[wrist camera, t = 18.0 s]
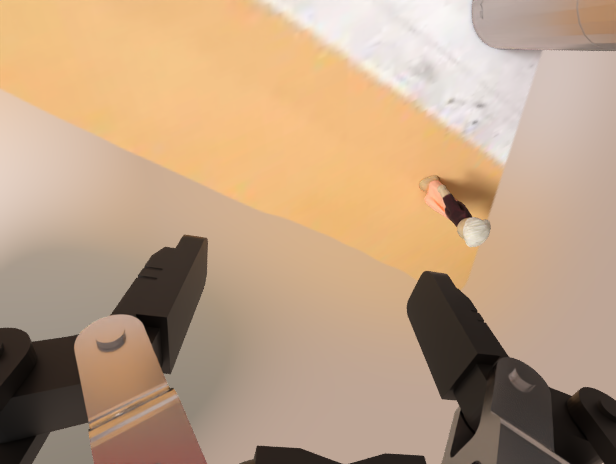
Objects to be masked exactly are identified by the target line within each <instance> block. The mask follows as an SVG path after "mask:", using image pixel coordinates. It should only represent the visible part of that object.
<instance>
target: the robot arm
mask: <svg viewBox="0 0 616 464" xmlns="http://www.w3.org/2000/svg"><path fill="white" fill-rule="evenodd" d="M472 21H473V26H474V29H475V31H476V33H477V35H478V37H479V38H480V39H481V40H482V42H484V43H485V44H487V45H488V46H490V47H493V48H497V49H524V50H588V51H616V0H473V3H472ZM207 250H208V241H207V238H203V237H197V236H190V235H184V236H183V237H182V238H181V240H180V242H179V244H178V245H177V247H176V248H170V247H164V248H163V249H161V250H160V251H158V252H157V253H155V254H153V255H152V256H151V258H150V259H149V261H148V262H147V263H146V265H145V267H144V268H143V269H142V271H141V272H140V274H139V275H138V278H136V279H135V281H134V282H133V284H132V285H131V287H130V288H129V289H128V291H127V292H126V294H125V295H124V297H123V298H122V299H121V301H120V302H119V304H118V305H117V307H116V308H115V309H114V311H113V312H112V314H111V315H110V316H107V317H104V318H101V319H99V320H97V321H94V322H93V323H91V324H89V325H88V326H87V327H86V328H84V329H83V331H81V332H80V334H78V335H74V336H69V337H62V338H56V339H49V340H42V341H35V342H31V340H30V338H29V335H28V334H27V333H26V332H24V331H22V330H19V329H16V328H0V464H32V463H33V461H34V459H35V458H36V456H37V454H38V453H39V451H40V449H41V447H42V446H43V444H44V442H45V440H46V439H47V437H48V435H49V433H50V432H52V431H55V430H60V429H64V428H68V427H71V426H76V425H80V424H84V423H88V422H89V427H90V429H89V439H90V445H91V450H92V455H93V461H94V464H207V463H206V460H205V458H204V455H203V453H202V451H201V448H200V446H199V444H198V441H197V439H196V437H195V434H194V432H193V429H192V427H191V425H190V423H189V420H188V418H187V415H186V413H185V411H184V408H183V406H182V404H181V401H180V399H179V397H178V395H177V393H176V391H175V390H174V389H173V388H171V389H170V388H169V386H168V384H167V382H166V379H165V377H164V374H163V373H166V374H171V372H172V369H173V367H174V364H175V362H176V359H177V356H178V354H179V351H180V349H181V346H182V343H183V341H184V338H185V335H186V333H187V330H188V328H189V325H190V323H191V320H192V318H193V315H194V312H195V310H196V307H197V305H198V302H199V300H200V297H201V294H202V292H203V289H204V286H205V281H206V275H207ZM407 314H408V317H409V320H410V322H411V325H412V327H413V330H414V332H415V335H416V337H417V340H418V342H419V344H420V347H421V349H422V352H423V354H424V357H425V359H426V361H427V364H428V367H429V369H430V371H431V374H432V376H433V379H434V381H435V384H436V386H437V388H438V391H439V394H440V396H441V398H442V399H447V400H457V402H458V404H459V407H458V408H457V409H456V411H455V413H454V418H453V422H452V425H451V429H450V433H449V437H448V441H447V445H446V449H445V453H444V457H443V460H442V463H441V464H602V463H604V464H616V400H614V399H613V398H611V397H610V396H608V395H607V394H605V393H603V392H601V391H599V390H596V389H593V388H589V387H583V388H581V389H580V390H579V391H577V392H576V393H575V394H574V395H573V396H570V395H568V394H565V393H563V392H560V391H558V390H555V389H552V388H550V387H548V385H547V384H546V382H545V381H544V380H543V378H542V377H541V376H540V375H539V374H538V373H537V372H536V371H535V370H534V369H532V368H531V367H529V366H528V365H526V364H525V363H523V362H521V361H520V360H517V359H514V358H510V357H509V356H508V355H507V354H506V352H505V350H504V349H503V348H502V346H501V345H500V343H499V342H498V340H497V339H496V337H495V336H494V334H493V333H492V331H491V330H490V328H489V327H488V326H487V324H486V323H484V320H483V318H482V317H481V315H480V314H479V313H477V309H476V308H475V307H474V305H473V303H472V302H471V300H470V299H469V298H468V297H466V296H465V295H464V294H463V293H462V292H461V291H460V290H459V289H457V288H456V287H455V285H454V284H453V282H452V280H451V279H450V277H449V276H448V275H447V274H444V273H437V272H431V271H425V272H423V273H422V275H421V276H420V278H419V280H418V282H417V284H416V286H415V288H414V290H413V292H412V294H411V296H410V298H409V300H408V303H407ZM240 464H341V463H338V462H336V461H333V460H330V459H328V458H325V457H322V456H319V455H317V454H314V453H311V452H309V451H306V450H303V449H301V448H286V447H269V446H257V448H256V452H255V456H254V459H252V460H249V461H245V462H242V463H240ZM350 464H426V461H425V458H424V456H418V455H402V454H382V455H379V456H375V457H371V458H368V459H365V460H361V461H357V462H354V463H350Z"/></svg>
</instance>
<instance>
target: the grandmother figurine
mask: <svg viewBox="0 0 616 464" xmlns="http://www.w3.org/2000/svg"><path fill="white" fill-rule="evenodd" d="M419 187H420V189H421V190H422V191H427V192H428V193H427V195H426V196H425V202H426V204H427V205H429V206H430V207H431V208H432V209H433V210H435V211H436V212H438V213H440V214H441V215H443V216H445V217H446V218H448V219H450V220H451V221H452V222H453V223H454V224H455V225H456V227H457V232H458V234H459V236H460V237H461V238H463V239H464V240H465V241H466V244H467V245H468V246H469V247H476V246H479V245H481V244H482V243H484V242H485V241H486V239H487V238H488V236H489V233H490V229H491V225H490V222H489V221H488V220H486V219H484V220H481V219H479V218H475V217H472V216H471V214H470V212H469V211H468V209H467V208H466V206H465V205H464V204H462V203H461V202H459V201H458V200H456V199H455V198H454V197H453V195H452V194H451V193H450V192H449V191H448V190H447V188H446V186H445V185H442V184H441V183H440V182H439V178H438V177H437V176H431V177H428V178H425V179H423V180H422V181H420V183H419Z"/></svg>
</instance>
